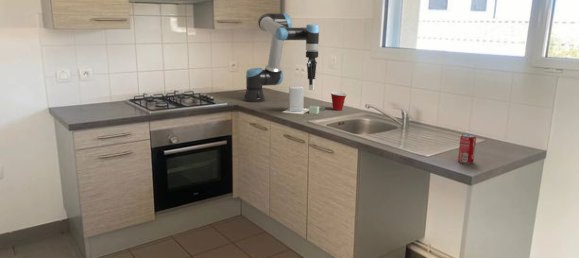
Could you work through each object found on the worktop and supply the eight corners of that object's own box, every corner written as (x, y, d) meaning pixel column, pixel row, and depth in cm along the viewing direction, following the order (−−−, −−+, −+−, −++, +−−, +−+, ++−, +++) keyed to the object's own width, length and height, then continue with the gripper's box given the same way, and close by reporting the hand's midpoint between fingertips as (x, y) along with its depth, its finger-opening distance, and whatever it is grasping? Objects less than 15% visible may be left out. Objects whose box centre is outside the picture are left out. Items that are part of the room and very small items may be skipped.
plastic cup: (345, 112, 286) (346, 94, 283) (328, 111, 288) (329, 93, 286) (346, 109, 297) (347, 91, 294) (330, 108, 299) (331, 91, 296)
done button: (311, 111, 285) (311, 105, 284) (319, 112, 283) (319, 106, 282) (309, 113, 280) (309, 106, 279) (316, 114, 279) (317, 107, 278)
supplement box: (303, 111, 283) (304, 88, 279) (289, 111, 282) (290, 88, 278) (302, 108, 292) (302, 86, 288) (288, 108, 291) (289, 86, 287)
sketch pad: (291, 108, 296) (291, 107, 296) (309, 110, 292) (309, 108, 292) (282, 113, 282) (282, 111, 282) (301, 115, 278) (301, 113, 277)
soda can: (455, 162, 189) (458, 135, 186) (460, 158, 194) (463, 132, 191) (470, 165, 186) (473, 137, 183) (475, 161, 190) (478, 134, 187)
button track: (313, 110, 293) (313, 106, 292) (324, 111, 290) (324, 107, 290) (306, 114, 280) (306, 110, 279) (318, 115, 277) (318, 111, 277)
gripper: (314, 51, 258) (313, 91, 263) (321, 50, 269) (320, 88, 275) (302, 51, 260) (302, 90, 266) (309, 50, 272) (308, 88, 278)
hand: (311, 89), depth 270 cm, fingers closed
